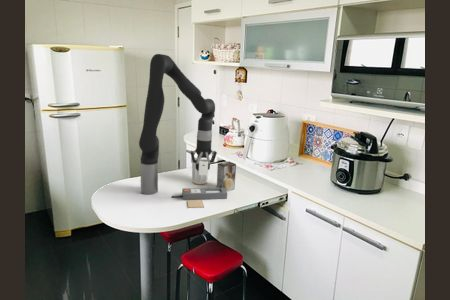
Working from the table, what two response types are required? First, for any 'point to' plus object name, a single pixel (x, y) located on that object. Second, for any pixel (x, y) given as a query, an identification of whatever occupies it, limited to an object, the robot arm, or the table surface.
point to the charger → (203, 167)
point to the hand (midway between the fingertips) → (202, 169)
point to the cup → (195, 177)
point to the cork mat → (195, 204)
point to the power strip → (203, 193)
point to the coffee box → (226, 175)
